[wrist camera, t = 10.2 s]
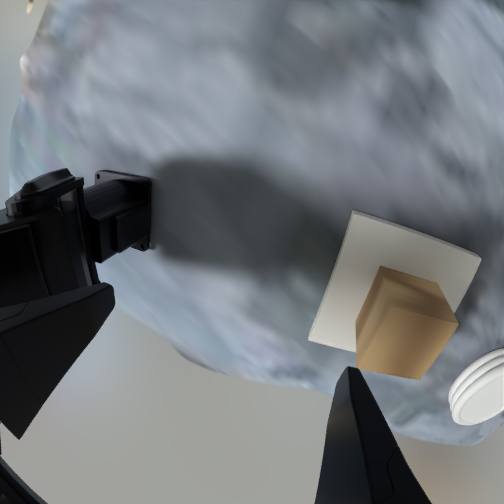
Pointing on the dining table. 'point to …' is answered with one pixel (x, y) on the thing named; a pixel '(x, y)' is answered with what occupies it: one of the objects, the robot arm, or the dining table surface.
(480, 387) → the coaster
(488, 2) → the dining table surface
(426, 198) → the dining table surface
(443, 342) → the oak cube
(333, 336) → the white board
